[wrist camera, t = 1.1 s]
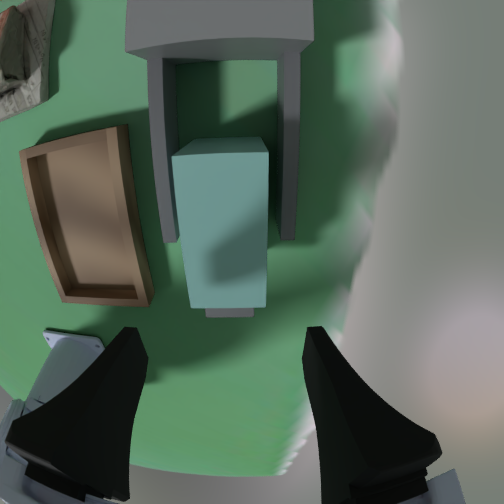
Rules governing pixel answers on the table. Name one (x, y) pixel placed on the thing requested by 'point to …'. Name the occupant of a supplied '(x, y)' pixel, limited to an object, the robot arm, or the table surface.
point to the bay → (219, 49)
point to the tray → (89, 217)
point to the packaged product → (25, 56)
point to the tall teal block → (223, 223)
